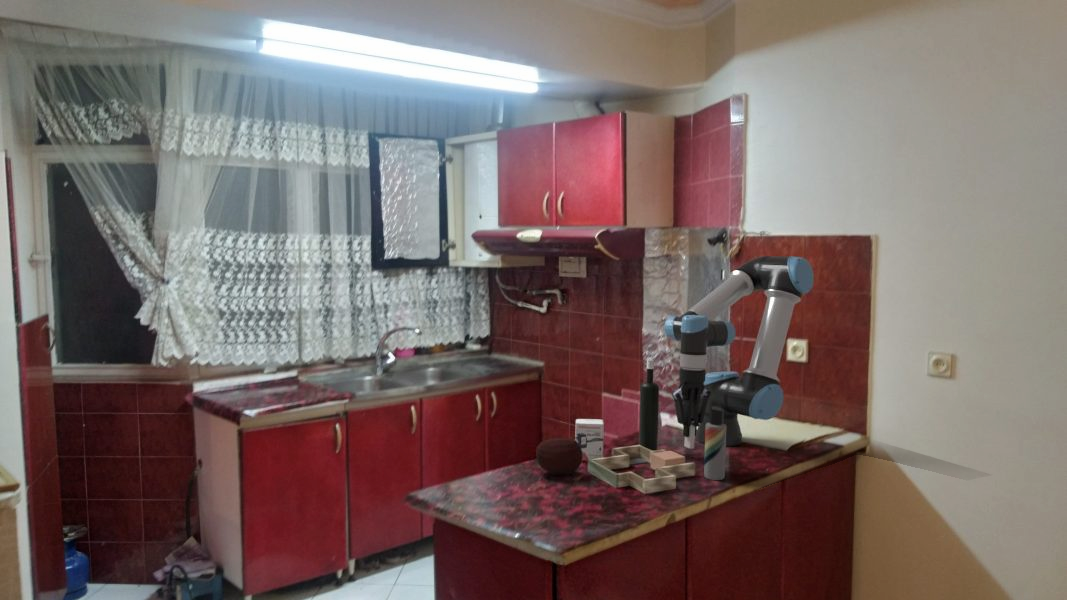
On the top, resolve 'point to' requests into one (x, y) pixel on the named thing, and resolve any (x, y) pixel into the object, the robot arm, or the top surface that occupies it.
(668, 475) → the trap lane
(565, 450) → the potato
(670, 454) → the block
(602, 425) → the ink box
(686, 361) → the robot arm
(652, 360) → the wine bottle
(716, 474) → the lotion bottle
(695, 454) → the top surface
